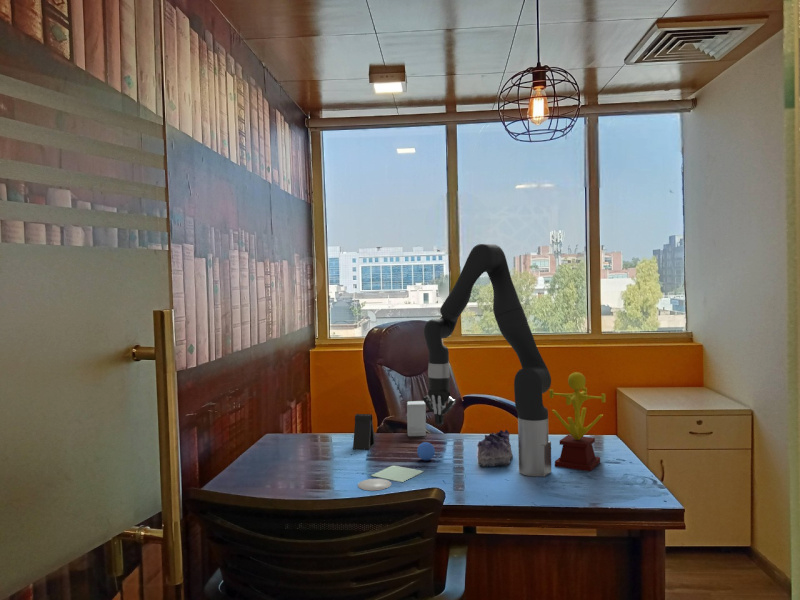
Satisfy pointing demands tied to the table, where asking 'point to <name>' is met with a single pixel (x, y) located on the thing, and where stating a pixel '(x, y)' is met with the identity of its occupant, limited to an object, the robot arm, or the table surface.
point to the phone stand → (363, 432)
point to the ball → (426, 451)
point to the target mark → (397, 473)
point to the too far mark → (374, 484)
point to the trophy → (577, 429)
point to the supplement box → (416, 418)
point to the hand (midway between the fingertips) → (439, 424)
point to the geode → (495, 450)
